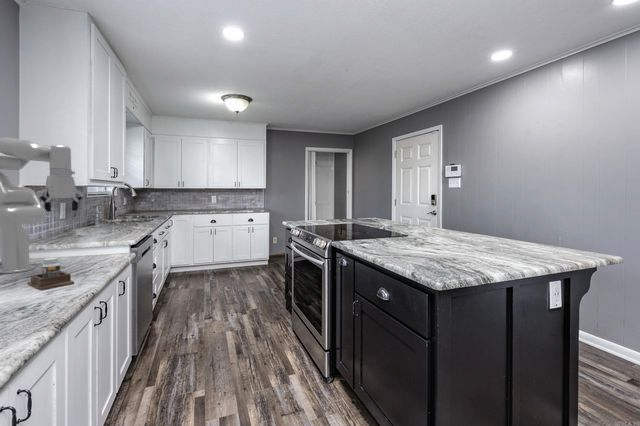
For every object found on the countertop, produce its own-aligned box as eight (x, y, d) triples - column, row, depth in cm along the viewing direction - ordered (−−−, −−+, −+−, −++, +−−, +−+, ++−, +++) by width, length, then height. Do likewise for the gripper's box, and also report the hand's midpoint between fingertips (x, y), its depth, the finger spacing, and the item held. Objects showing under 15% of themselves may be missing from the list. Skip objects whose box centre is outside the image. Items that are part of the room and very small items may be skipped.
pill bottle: (49, 284, 127) (49, 260, 127) (38, 283, 128) (38, 259, 128) (63, 280, 133) (63, 257, 132) (53, 279, 134) (52, 256, 133)
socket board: (27, 284, 129) (27, 275, 129) (59, 278, 139) (59, 269, 138) (41, 290, 122) (40, 280, 122) (74, 283, 132) (74, 274, 131)
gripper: (79, 174, 149) (80, 209, 150) (32, 171, 134) (33, 211, 135) (86, 174, 145) (87, 210, 146) (39, 171, 130) (40, 212, 131)
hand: (61, 210), depth 141 cm, fingers open, 9 cm apart
